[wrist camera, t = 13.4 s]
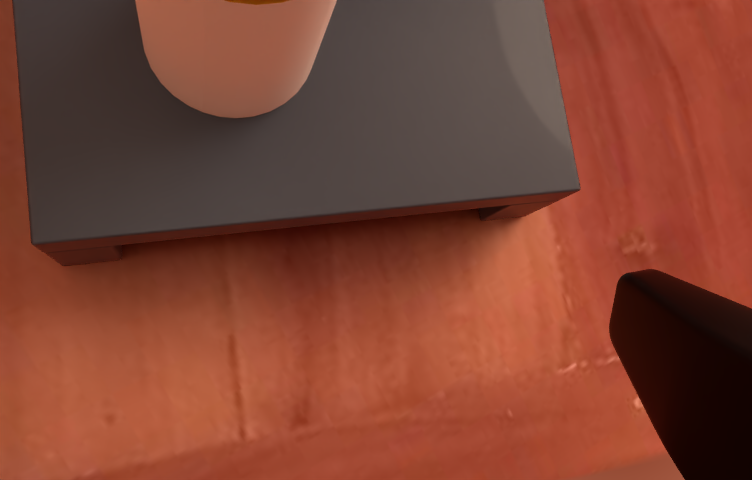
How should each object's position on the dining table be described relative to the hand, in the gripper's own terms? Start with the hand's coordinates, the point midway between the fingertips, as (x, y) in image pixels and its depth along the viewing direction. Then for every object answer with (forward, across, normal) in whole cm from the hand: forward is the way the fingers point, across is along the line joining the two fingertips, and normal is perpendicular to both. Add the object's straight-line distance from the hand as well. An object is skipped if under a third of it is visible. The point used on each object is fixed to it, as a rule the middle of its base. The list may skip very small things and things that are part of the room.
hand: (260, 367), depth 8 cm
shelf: (+15, -2, +2) cm, 15 cm away
